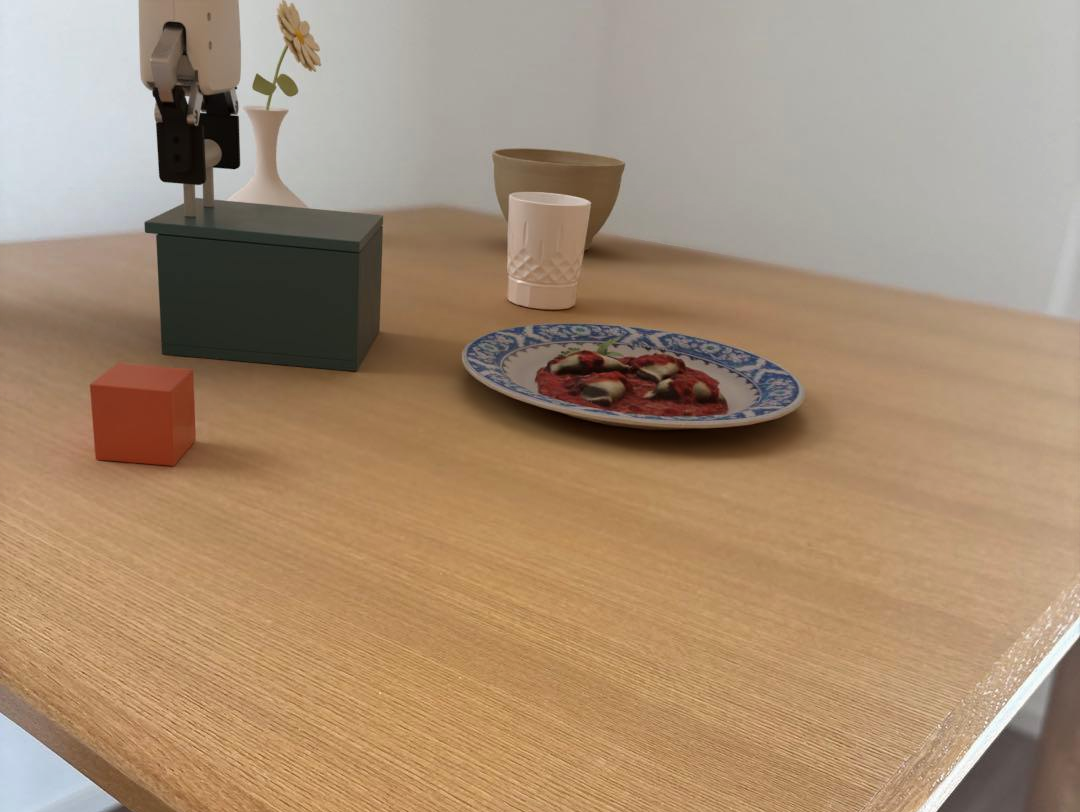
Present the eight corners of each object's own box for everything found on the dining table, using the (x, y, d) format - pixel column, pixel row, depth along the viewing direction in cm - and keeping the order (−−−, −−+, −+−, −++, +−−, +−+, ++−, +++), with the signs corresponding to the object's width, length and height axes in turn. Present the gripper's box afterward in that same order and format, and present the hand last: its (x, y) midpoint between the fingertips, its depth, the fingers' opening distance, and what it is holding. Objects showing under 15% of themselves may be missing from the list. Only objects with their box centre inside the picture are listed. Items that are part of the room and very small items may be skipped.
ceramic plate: (857, 459, 77) (866, 418, 76) (481, 449, 72) (484, 404, 71) (736, 355, 100) (742, 321, 98) (445, 342, 95) (447, 306, 94)
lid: (144, 232, 81) (139, 148, 79) (194, 207, 92) (192, 132, 90) (359, 252, 81) (361, 168, 79) (383, 225, 93) (385, 151, 90)
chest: (161, 354, 85) (155, 234, 81) (208, 315, 96) (204, 209, 92) (356, 371, 85) (359, 253, 81) (379, 330, 96) (382, 225, 93)
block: (95, 459, 65) (89, 384, 63) (122, 434, 69) (117, 362, 67) (173, 466, 65) (170, 391, 63) (196, 440, 69) (193, 369, 67)
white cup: (565, 316, 108) (575, 208, 103) (489, 303, 110) (496, 196, 106) (590, 301, 114) (601, 199, 110) (518, 289, 117) (526, 189, 112)
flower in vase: (266, 246, 125) (264, -3, 115) (195, 229, 131) (187, -11, 120) (346, 235, 135) (350, 6, 125) (277, 220, 141) (276, -1, 130)
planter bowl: (553, 231, 152) (561, 146, 147) (641, 255, 141) (652, 164, 137) (460, 237, 141) (465, 146, 137) (547, 263, 131) (556, 165, 126)
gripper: (174, -77, 86) (185, 158, 93) (89, -100, 70) (111, 185, 77) (273, -68, 86) (277, 166, 93) (210, -89, 70) (221, 194, 77)
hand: (202, 174), depth 85 cm, fingers open, 9 cm apart
